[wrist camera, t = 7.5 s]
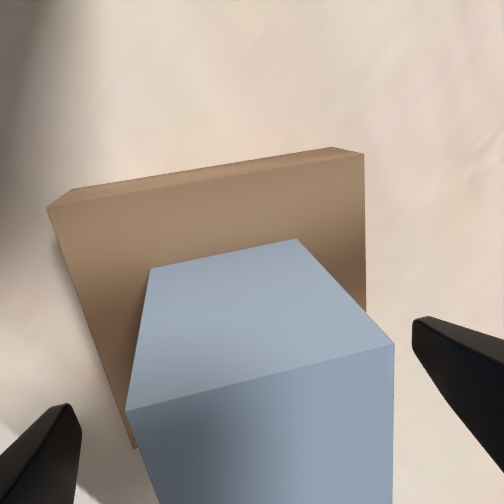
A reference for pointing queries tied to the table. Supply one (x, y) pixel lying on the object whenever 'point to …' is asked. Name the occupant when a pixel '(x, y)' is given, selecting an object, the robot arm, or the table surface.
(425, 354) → the robot arm
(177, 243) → the walnut block
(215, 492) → the slate block
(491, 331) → the table surface
